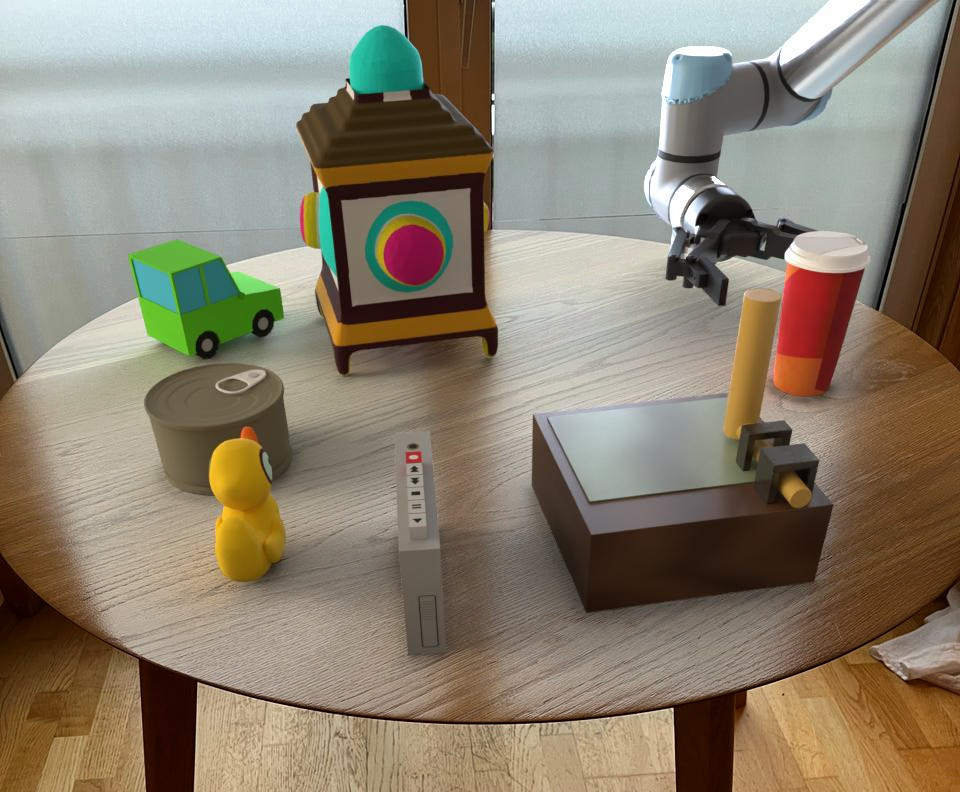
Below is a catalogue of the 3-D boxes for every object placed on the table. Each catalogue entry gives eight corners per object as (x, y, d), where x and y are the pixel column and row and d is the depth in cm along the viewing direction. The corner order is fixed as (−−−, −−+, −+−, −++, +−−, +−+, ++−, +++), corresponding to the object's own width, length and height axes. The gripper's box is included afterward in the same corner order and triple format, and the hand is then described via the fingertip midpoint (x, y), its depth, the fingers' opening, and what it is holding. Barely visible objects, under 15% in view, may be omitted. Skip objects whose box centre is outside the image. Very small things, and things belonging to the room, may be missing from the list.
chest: (726, 462, 89) (744, 355, 82) (814, 581, 76) (843, 465, 69) (531, 486, 87) (533, 377, 80) (586, 613, 73) (593, 495, 67)
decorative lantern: (514, 363, 105) (515, 37, 86) (328, 387, 102) (285, 53, 82) (469, 293, 120) (461, 1, 100) (306, 312, 117) (265, 14, 97)
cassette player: (403, 530, 82) (393, 421, 75) (435, 527, 82) (429, 419, 76) (408, 654, 70) (397, 538, 64) (446, 652, 70) (439, 536, 64)
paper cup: (820, 363, 104) (850, 225, 95) (854, 397, 98) (889, 254, 89) (749, 370, 103) (772, 232, 94) (778, 405, 97) (806, 261, 88)
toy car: (295, 330, 113) (282, 240, 106) (197, 369, 106) (176, 275, 99) (241, 306, 118) (226, 220, 112) (145, 342, 111) (122, 252, 105)
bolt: (748, 423, 79) (772, 286, 72) (816, 506, 70) (851, 358, 63) (717, 427, 79) (738, 289, 72) (781, 510, 70) (812, 362, 63)
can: (134, 467, 90) (115, 398, 86) (237, 417, 97) (224, 350, 93) (218, 512, 85) (202, 440, 80) (321, 455, 91) (311, 386, 87)
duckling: (233, 520, 84) (210, 413, 77) (297, 518, 84) (279, 411, 77) (208, 604, 75) (179, 491, 68) (279, 602, 75) (257, 489, 68)
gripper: (806, 243, 120) (892, 311, 104) (607, 261, 117) (665, 334, 101) (818, 177, 115) (911, 238, 99) (611, 194, 112) (673, 260, 96)
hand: (787, 286), depth 100 cm, fingers open, 13 cm apart
